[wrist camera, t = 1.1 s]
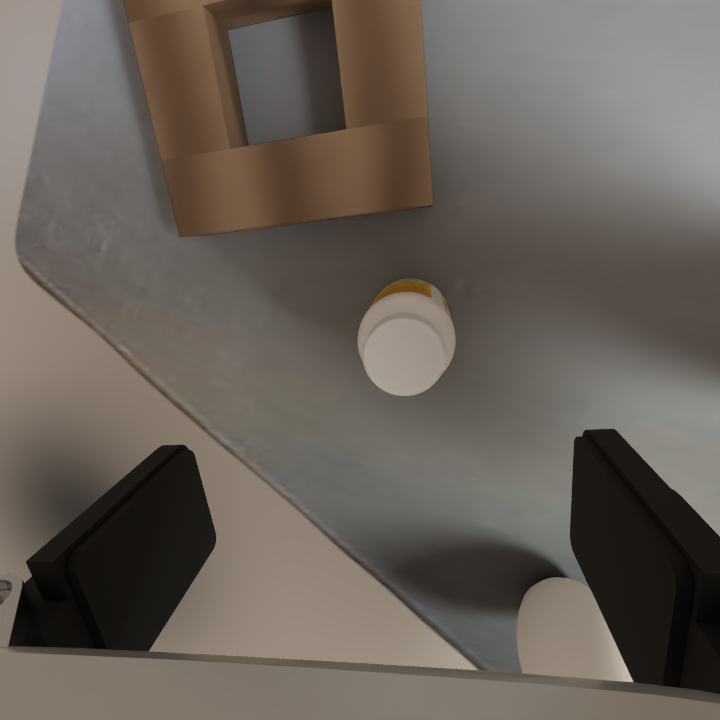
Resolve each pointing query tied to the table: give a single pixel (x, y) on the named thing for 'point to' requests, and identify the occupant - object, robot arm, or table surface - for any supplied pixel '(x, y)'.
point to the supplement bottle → (407, 337)
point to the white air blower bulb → (566, 633)
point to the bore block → (291, 156)
